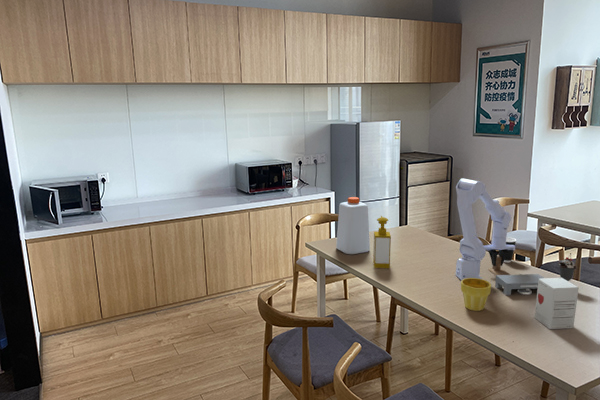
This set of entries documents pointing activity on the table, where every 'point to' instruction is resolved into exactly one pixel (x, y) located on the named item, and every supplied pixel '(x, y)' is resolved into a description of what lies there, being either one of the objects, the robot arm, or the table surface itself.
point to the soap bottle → (382, 246)
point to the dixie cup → (509, 257)
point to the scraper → (498, 268)
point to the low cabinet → (517, 282)
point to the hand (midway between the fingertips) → (497, 265)
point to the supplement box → (556, 303)
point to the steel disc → (524, 291)
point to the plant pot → (475, 293)
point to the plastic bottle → (353, 227)
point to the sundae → (567, 269)
